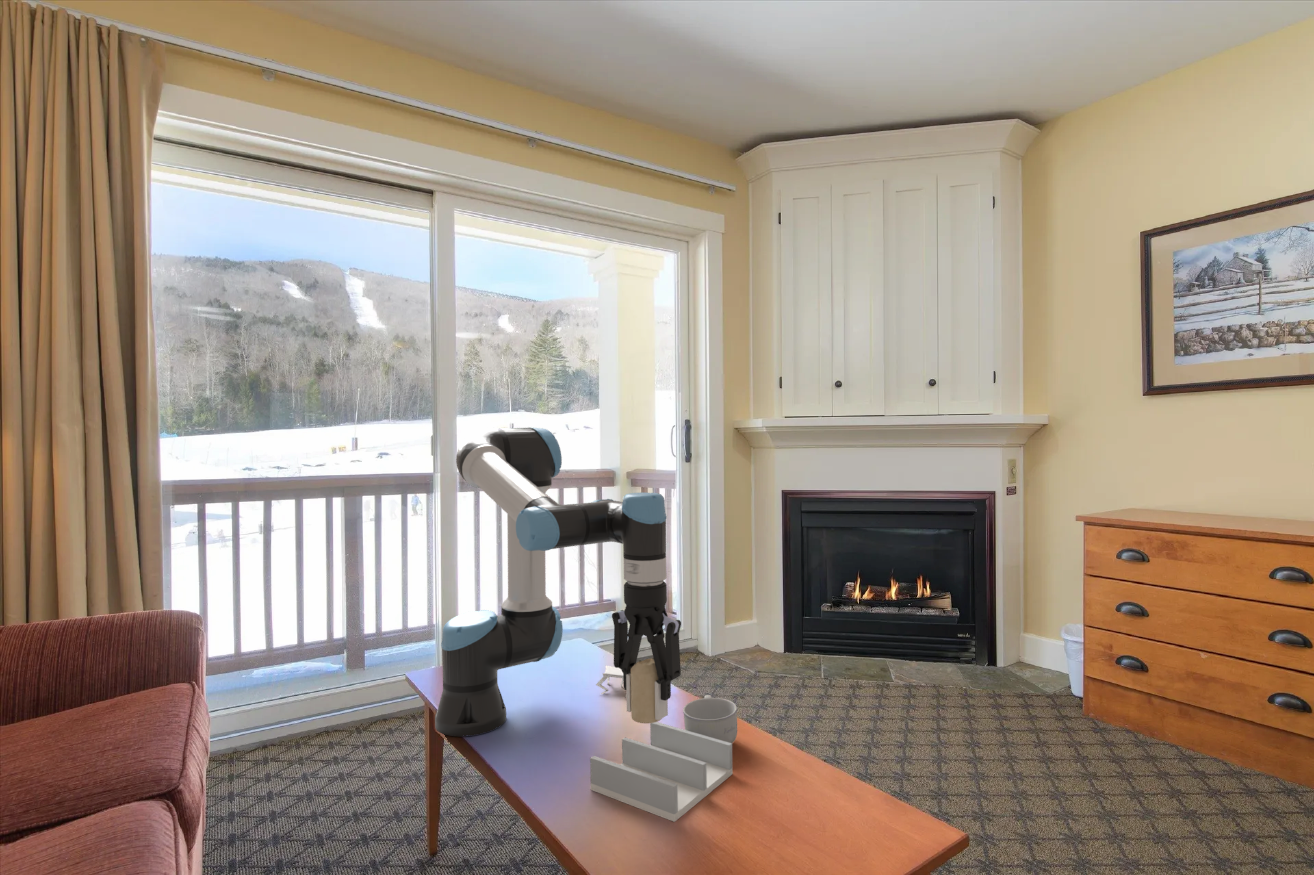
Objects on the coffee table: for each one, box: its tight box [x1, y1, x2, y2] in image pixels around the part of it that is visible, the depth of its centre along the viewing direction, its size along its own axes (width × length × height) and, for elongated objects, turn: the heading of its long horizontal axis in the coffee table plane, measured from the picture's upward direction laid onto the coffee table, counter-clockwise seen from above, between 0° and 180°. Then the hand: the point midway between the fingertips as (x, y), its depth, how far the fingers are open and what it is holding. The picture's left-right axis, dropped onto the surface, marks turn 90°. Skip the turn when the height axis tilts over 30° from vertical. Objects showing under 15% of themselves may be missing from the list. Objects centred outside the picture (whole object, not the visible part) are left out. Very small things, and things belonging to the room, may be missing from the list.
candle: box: [630, 657, 662, 724], centre depth 122 cm, size 6×6×10 cm
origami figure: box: [595, 665, 627, 699], centre depth 170 cm, size 12×8×5 cm
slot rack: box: [589, 721, 733, 823], centre depth 126 cm, size 18×19×6 cm
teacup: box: [682, 694, 738, 744], centre depth 142 cm, size 14×11×8 cm
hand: (647, 712), depth 122 cm, fingers closed on candle, 5 cm apart
